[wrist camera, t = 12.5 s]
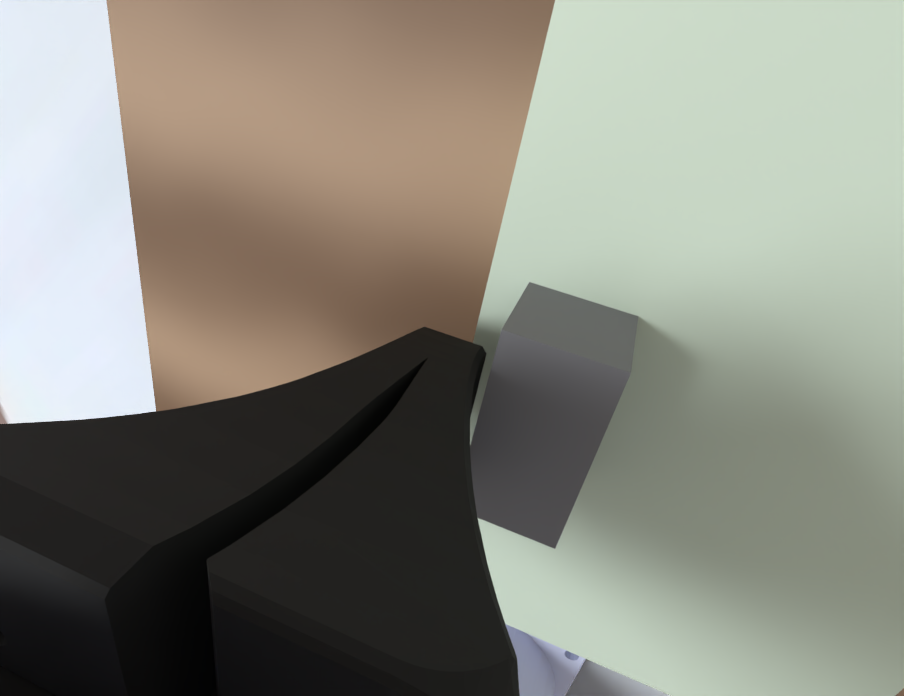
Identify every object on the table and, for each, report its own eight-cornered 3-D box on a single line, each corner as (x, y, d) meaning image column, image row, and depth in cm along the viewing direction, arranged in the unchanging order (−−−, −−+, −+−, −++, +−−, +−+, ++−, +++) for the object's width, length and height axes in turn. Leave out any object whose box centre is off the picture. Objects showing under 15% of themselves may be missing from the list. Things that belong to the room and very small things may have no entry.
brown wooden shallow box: (860, 635, 17) (897, 761, 14) (232, 390, 21) (160, 448, 18) (1402, 91, 9) (1754, 122, 6) (217, -138, 13) (84, -186, 10)
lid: (812, 726, 14) (838, 861, 12) (425, 561, 16) (383, 650, 14) (1515, 77, 6) (1996, 104, 4) (587, -94, 8) (553, -143, 6)
